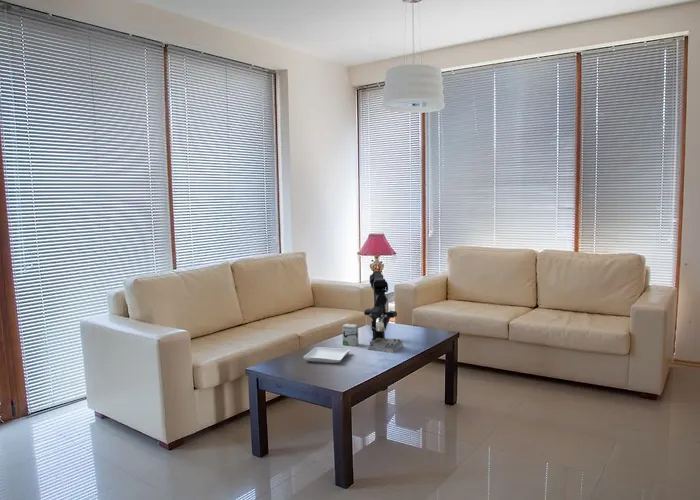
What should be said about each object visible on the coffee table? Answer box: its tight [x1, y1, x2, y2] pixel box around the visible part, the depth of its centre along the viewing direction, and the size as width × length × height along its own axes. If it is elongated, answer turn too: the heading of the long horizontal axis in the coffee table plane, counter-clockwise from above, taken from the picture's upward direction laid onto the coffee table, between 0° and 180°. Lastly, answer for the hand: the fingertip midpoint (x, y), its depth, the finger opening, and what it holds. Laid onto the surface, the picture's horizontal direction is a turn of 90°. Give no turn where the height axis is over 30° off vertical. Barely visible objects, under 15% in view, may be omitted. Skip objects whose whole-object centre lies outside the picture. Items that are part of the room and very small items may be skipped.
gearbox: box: [366, 338, 404, 354], centre depth 312 cm, size 16×14×5 cm
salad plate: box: [302, 346, 352, 364], centre depth 296 cm, size 21×21×3 cm
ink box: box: [341, 323, 359, 347], centre depth 321 cm, size 9×5×12 cm, turn 68°
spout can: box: [376, 315, 387, 332], centre depth 312 cm, size 6×6×8 cm
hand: (380, 327), depth 312 cm, fingers closed on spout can, 5 cm apart
